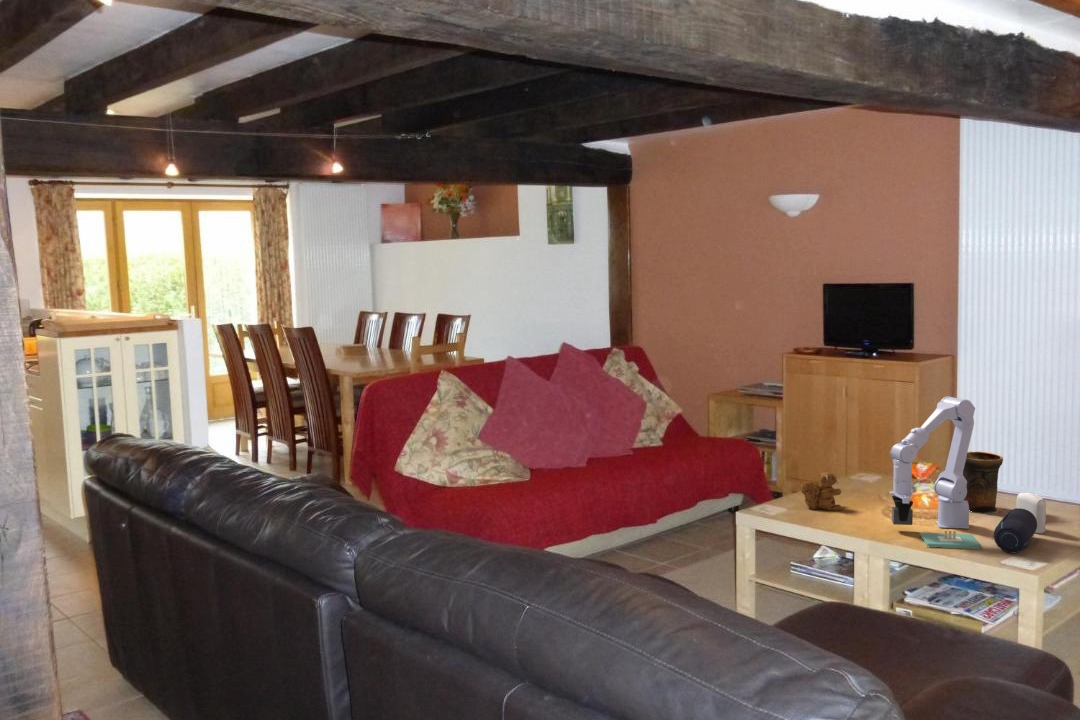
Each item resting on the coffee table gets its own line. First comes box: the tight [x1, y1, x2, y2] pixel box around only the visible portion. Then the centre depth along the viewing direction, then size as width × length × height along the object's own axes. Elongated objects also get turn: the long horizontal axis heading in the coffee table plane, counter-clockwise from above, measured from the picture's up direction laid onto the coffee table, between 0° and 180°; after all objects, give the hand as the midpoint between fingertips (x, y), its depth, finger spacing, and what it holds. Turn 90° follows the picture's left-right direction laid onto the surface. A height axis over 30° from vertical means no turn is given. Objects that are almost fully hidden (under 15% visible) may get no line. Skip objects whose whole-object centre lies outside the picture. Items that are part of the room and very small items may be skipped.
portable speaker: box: [993, 507, 1037, 554], centre depth 300 cm, size 25×10×10 cm, turn 145°
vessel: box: [963, 451, 1004, 515], centre depth 342 cm, size 14×14×20 cm
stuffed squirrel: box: [800, 471, 843, 511], centre depth 349 cm, size 10×14×13 cm
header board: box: [919, 530, 982, 550], centre depth 305 cm, size 16×12×4 cm
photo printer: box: [1015, 492, 1047, 534], centre depth 316 cm, size 10×4×12 cm, turn 14°
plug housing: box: [891, 506, 914, 526], centre depth 318 cm, size 6×4×5 cm, turn 78°
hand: (902, 518), depth 318 cm, fingers closed on plug housing, 4 cm apart
